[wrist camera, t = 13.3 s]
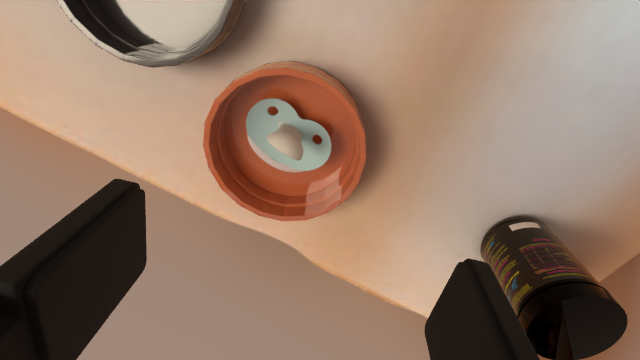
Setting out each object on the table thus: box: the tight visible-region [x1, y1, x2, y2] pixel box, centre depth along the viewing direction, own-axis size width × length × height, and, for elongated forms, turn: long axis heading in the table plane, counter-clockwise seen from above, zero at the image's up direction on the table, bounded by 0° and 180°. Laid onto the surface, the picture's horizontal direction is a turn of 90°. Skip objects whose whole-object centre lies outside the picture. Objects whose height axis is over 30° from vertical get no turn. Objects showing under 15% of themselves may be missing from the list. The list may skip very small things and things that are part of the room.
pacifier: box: [246, 98, 331, 173], centre depth 28 cm, size 7×6×6 cm
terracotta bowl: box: [203, 61, 366, 221], centre depth 29 cm, size 13×13×4 cm
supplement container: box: [481, 217, 627, 360], centre depth 30 cm, size 7×7×10 cm
